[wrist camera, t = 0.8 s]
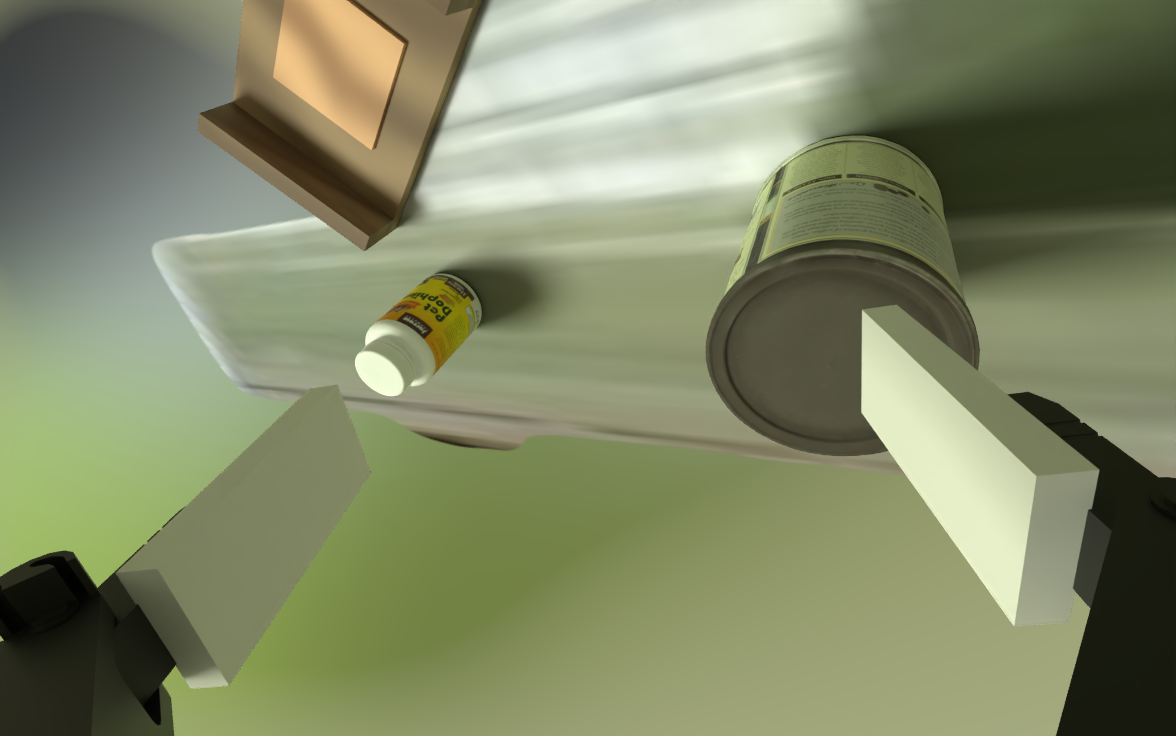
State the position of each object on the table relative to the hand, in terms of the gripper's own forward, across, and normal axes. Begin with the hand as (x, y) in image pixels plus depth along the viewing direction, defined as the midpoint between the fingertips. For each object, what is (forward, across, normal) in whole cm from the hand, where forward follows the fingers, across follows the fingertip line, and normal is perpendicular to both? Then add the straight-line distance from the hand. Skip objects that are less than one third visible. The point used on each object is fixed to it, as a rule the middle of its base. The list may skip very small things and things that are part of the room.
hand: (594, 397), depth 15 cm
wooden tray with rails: (+30, -16, +12) cm, 36 cm away
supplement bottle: (+33, -14, -6) cm, 37 cm away
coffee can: (+23, +13, -2) cm, 26 cm away
